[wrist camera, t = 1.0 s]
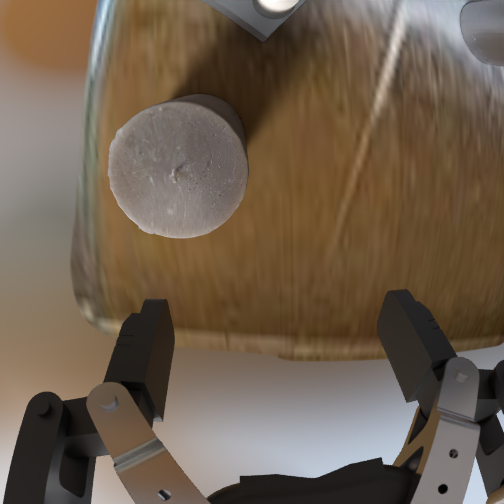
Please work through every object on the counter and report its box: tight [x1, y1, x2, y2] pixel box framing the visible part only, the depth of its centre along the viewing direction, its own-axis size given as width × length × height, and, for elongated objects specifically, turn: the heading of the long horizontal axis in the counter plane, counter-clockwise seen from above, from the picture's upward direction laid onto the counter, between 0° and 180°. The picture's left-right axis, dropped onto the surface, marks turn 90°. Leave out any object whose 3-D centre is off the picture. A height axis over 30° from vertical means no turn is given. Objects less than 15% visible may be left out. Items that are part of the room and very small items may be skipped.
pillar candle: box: [107, 94, 249, 238], centre depth 25 cm, size 10×10×15 cm
